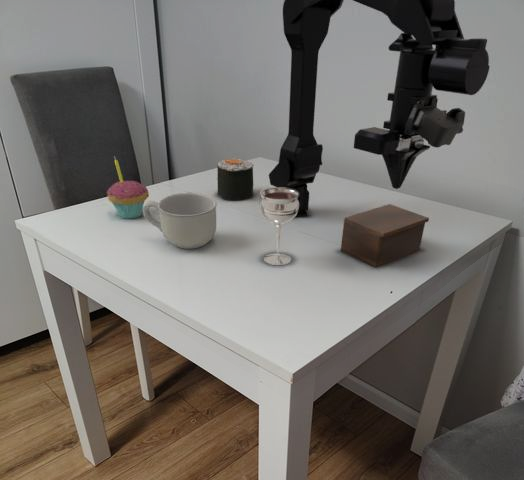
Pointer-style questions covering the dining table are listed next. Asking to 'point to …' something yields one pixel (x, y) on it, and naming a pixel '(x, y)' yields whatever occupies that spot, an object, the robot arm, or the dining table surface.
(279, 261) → the wineglass
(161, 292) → the dining table surface
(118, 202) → the cupcake
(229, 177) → the sushi
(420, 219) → the lid
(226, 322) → the dining table surface
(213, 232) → the teacup
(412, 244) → the chest
